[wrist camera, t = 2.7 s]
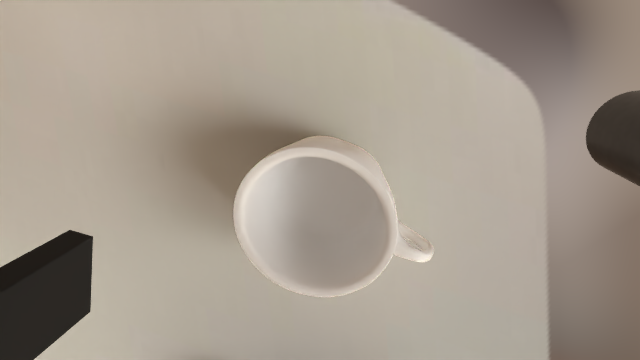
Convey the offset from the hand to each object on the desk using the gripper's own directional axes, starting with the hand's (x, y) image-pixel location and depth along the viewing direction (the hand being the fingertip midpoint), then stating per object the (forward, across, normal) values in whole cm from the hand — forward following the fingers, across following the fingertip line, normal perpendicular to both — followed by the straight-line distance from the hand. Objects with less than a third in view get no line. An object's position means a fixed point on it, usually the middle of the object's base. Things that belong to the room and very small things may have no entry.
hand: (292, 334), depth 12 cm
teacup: (+13, 0, 0) cm, 13 cm away
